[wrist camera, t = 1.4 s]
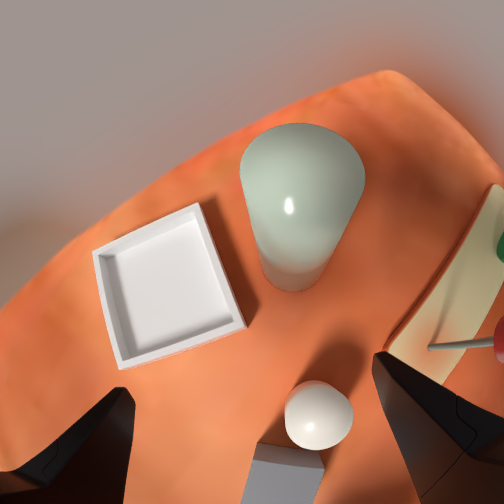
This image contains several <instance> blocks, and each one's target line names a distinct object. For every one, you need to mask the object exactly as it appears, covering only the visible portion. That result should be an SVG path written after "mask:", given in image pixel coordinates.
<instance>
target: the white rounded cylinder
mask: <svg viewBox="0 0 504 504" xmlns="http://www.w3.org/2000/svg"><path fill="white" fill-rule="evenodd" d="M284 411H285V426H286V431H287V433H288V435H289V437H290V438H291V440H292V441H293V442H294V443H296V444H297V445H299V446H300V447H303V448H305V449H310V450H322V449H326V448H329V447H332V446H334V445H336V444H337V443H339V442H340V441H341V440H342V439H344V437H345V436H346V435H347V434H348V432H349V431H350V429H351V426H352V423H353V417H354V416H353V408H352V406H351V404H350V402H349V400H348V399H347V398H346V397H345V396H344V395H343V394H341V393H340V392H339V391H337V390H336V389H335V388H333V387H332V386H331V385H329V384H328V383H326V382H323V381H319V380H310V381H306V382H303V383H301V384H299V385H297V386H296V387H294V388H293V389H292V390H291V392H290V393H289V394H288V396H287V398H286V401H285V406H284Z"/></svg>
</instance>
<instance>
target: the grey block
mask: <svg viewBox="0 0 504 504" xmlns="http://www.w3.org/2000/svg"><path fill="white" fill-rule="evenodd" d="M324 471H325V468H324V465H323V462H322V460H321V457H320V454H319V452H318V451H312V450H303V449H295V448H288V447H281V446H275V445H269V444H263V443H258V442H257V445H256V449H255V453H254V457H253V460H252V464H251V468H250V472H249V475H248V479H247V483H246V486H245V490H244V493H243V497H242V500H241V504H313V501H314V499H315V496H316V494H317V491H318V488H319V485H320V482H321V480H322V477H323V474H324Z"/></svg>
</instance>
